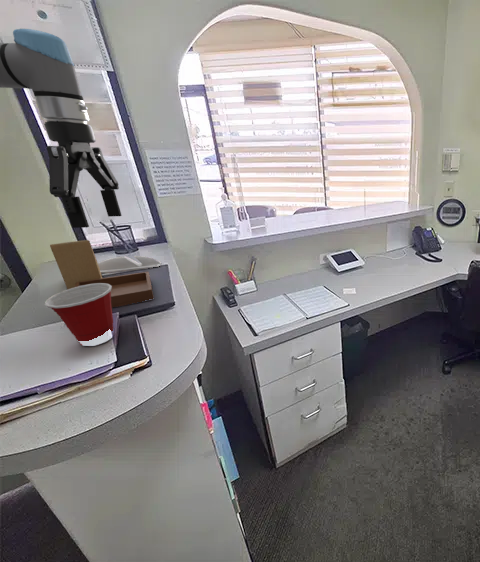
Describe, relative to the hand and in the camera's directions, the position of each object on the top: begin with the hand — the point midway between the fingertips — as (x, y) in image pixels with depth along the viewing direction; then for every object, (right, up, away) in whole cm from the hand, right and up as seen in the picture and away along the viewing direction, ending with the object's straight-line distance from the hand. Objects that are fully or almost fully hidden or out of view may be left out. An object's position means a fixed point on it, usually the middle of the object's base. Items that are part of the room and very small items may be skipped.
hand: (99, 221), depth 74 cm
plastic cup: (+3, -28, -4) cm, 28 cm away
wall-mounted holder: (-24, -10, +38) cm, 46 cm away
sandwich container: (-27, -14, +26) cm, 40 cm away
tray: (-10, -19, +17) cm, 27 cm away
